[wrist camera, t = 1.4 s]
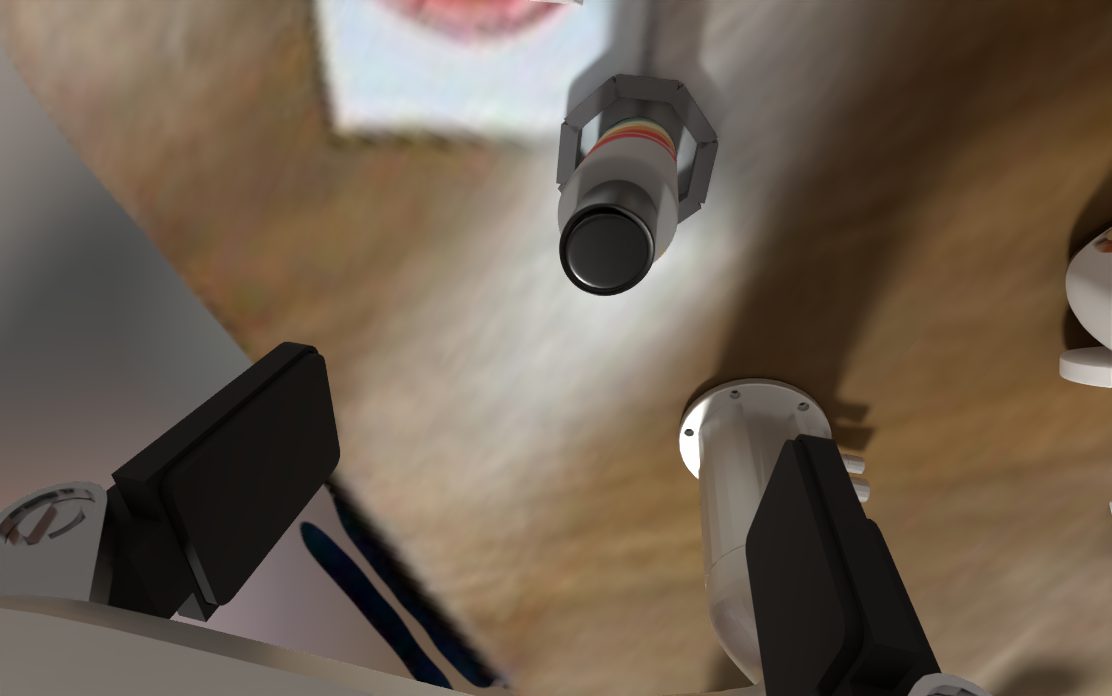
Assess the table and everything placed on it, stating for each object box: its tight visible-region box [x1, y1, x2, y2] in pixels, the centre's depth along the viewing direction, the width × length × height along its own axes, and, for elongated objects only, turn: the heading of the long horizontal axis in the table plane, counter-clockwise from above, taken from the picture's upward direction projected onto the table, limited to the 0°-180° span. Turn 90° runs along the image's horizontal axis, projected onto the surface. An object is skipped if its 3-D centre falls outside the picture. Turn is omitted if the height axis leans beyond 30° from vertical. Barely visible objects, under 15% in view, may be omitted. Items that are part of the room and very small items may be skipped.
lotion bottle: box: [558, 117, 679, 296], centre depth 29 cm, size 6×6×20 cm
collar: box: [556, 74, 718, 225], centre depth 36 cm, size 10×10×2 cm
